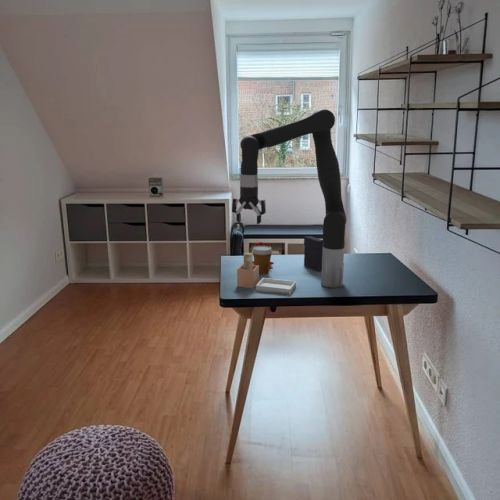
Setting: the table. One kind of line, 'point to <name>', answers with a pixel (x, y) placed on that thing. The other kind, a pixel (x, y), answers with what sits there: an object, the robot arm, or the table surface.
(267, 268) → the disposable coffee cup
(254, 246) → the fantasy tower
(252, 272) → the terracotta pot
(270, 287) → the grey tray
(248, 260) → the maple peg
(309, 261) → the calculator
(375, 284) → the table surface
